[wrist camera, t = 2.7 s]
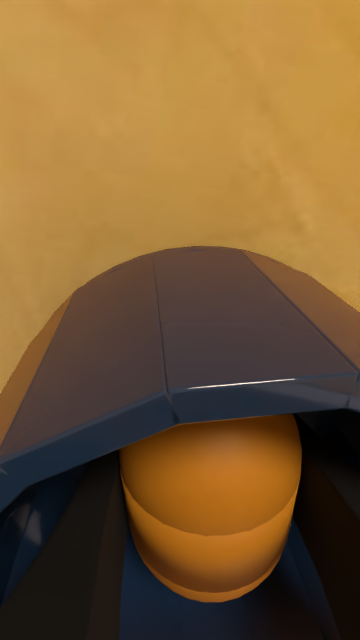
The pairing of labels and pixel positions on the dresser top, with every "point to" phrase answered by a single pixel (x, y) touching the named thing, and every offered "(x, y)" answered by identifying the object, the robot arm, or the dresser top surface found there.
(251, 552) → the orange banded oval part
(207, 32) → the dresser top surface
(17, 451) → the pot
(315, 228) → the dresser top surface
